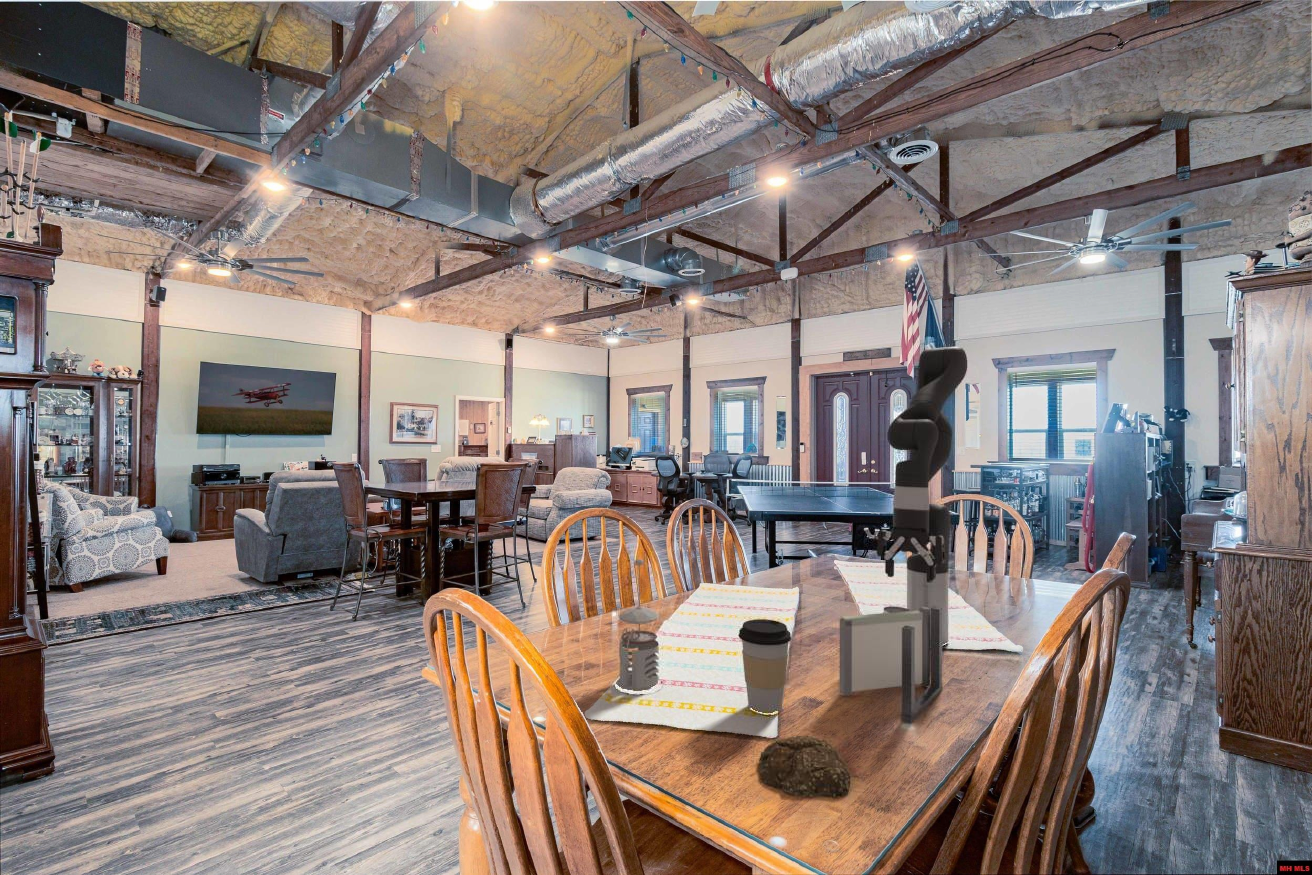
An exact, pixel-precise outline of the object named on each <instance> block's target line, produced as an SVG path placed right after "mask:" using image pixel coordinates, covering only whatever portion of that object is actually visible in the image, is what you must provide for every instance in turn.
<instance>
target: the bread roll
mask: <svg viewBox="0 0 1312 875" xmlns="http://www.w3.org/2000/svg"><path fill="white" fill-rule="evenodd" d="M758 763H759V764H760V772H759V778H760V780H761V782H762V783H764V784H765V785H767V786H769V787H771V788H773V789H776V790H782V791H784V792H785V793H786V794H789V795H790V796H794V797H803V798H815V797H816V798H817V797H825V798H826V797H827V798H830V797H832V798H831V799H837V798H839V797H844V796H846V795H847V794H848V792H849V791H850V789H851V784H852V782H851V778H852V774H851V773H850V771H849V769H848V766H847V764H846V763H845V762H844V760H843V757H842V756H841V755H839V753H838V751H837V750H836V749H835V748H834V747H832V744H831V743H830V744H829V743H828V742H827V741H826V740H825V739H823V740H821V739H818V738H817V737H812V736H808V735H805V734H803V735H796V736H789V737H786V738H781V739H778V740H776V741H774V742H771V743H770V744H768V745H767V746H766V747H765V748H764V749H763V751H761V753H760V756H759V758H758ZM838 796H839V797H838Z"/></svg>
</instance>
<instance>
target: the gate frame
mask: <svg viewBox="0 0 1312 875" xmlns="http://www.w3.org/2000/svg"><path fill="white" fill-rule="evenodd" d="M943 685H944V684H943V646H942V607H936V606H933V607H931V646H930V686H927V688H926V689H925V690H924V691H923V692H922V693H921V694H920V695H919V696H918V697H917V698H915V697H916V693H915V690H916V688H915V686H916V684H915V627H910V626H904V627H902V686H901V715H900V721H901V722H903V723H907V724H912V723H913V722H914V721H915V720H916V718H917V717H919V716H920V714H921V713H922V712H923V711H924V710H925V709H926V708H927V707H928V706H929V704H930V703H932V701H933V700H934V699H935V698H936V697H937V696H938V695H939V693H941V692H942V690H943V689H944V688H943V687H944V686H943Z"/></svg>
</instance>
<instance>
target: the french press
mask: <svg viewBox="0 0 1312 875" xmlns="http://www.w3.org/2000/svg"><path fill="white" fill-rule="evenodd" d="M634 565H635V566H638V606H633V607H629V608H627V609H625V610H624V611H622V612H621V613H619V615H618V618H619V620H620V621H621V622H623V623H626V624H633V625H635V624H636V625H638V630H635V628H633V629H631V631H628V629H627V627H624V629H623V631H622V632H621V635H620V639H619V640H620V641H619V644H618V645H619V646H618V656H619V678H618V679H617V680H616V682H615V683H616V684H617V685H618V686H619V687H621V688H622V689H627V690H633V691H642V690H649V689H651V687H653V686H655V685H656V684H657V683H658V680H659V679H660V677H659V675H658V674H659V669H658V668H659V662H657V661H659V658H660V657H659V656H658V655H657V654H659V653H660V652H659V651H660V649H659V645H660V644H659V642H658V641H657V640H656V639H657V638H658V635H657V634H656V633H654V631H651V630H650V631H649V630H641V627H640V626H641V625H642V624H648V623H653V622H655V621H657V620H658V619H659V617H660V614H659V613H658V612H657V611H656V610H654V609H653V608H649V607H645V606H644V607H643V606H641V604H640V603H641V566H644V565H645V561H644V560H643V559H642V558H637V559H635V560H634ZM630 649H631V651H630ZM634 649H637V650H634ZM629 656H631V657H629ZM630 662H631V663H630ZM657 667H658V668H657ZM629 669H631V670H629Z"/></svg>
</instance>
